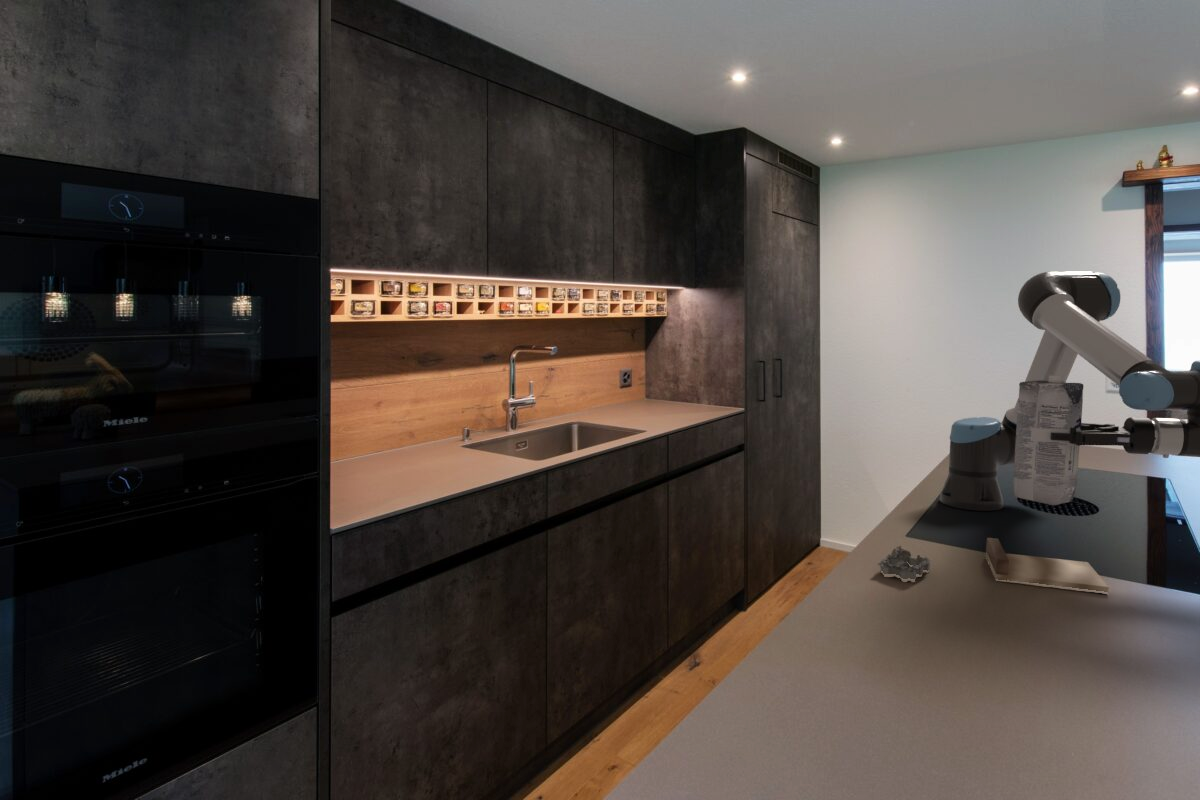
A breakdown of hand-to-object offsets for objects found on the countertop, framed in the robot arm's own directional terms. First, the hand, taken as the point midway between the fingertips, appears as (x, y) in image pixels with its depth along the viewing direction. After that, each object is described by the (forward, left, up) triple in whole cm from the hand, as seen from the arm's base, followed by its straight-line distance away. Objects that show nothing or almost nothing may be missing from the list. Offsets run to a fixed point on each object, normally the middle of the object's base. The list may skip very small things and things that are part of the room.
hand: (1026, 430), depth 149 cm
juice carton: (+4, +1, -15) cm, 16 cm away
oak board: (+7, -16, -26) cm, 32 cm away
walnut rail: (0, -19, -25) cm, 31 cm away
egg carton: (-13, -33, -27) cm, 44 cm away
